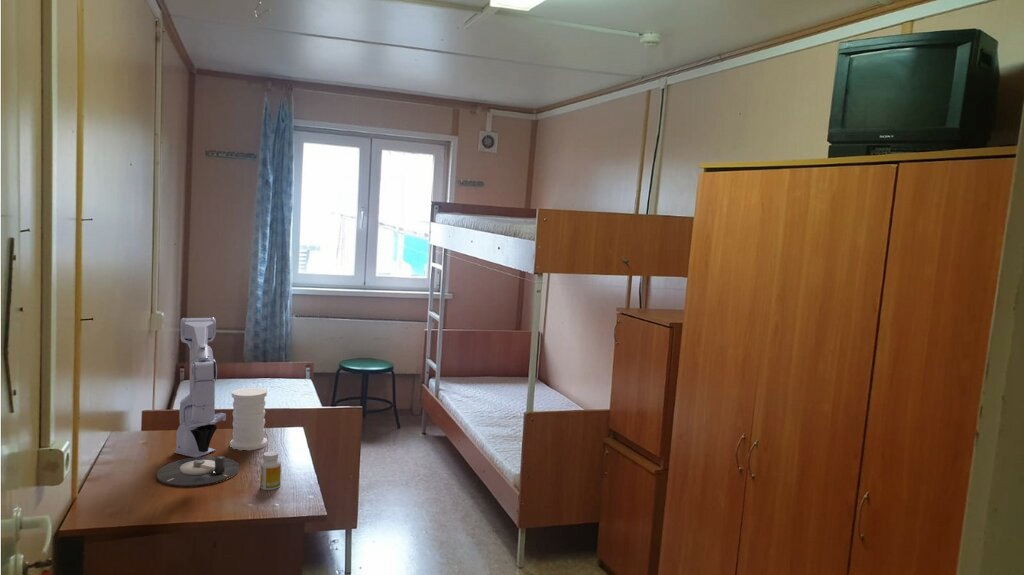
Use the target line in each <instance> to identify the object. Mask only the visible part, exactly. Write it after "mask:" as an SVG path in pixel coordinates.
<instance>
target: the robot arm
mask: <svg viewBox="0 0 1024 575" xmlns="http://www.w3.org/2000/svg"><path fill="white" fill-rule="evenodd" d="M179 324H180V329H179V331H180V333H179V334H180V340H181V343H184V344H187V346H188V348H189V393H188V395H186V396H185V397H183V398H182V399H181V400H180V402H179V426H178V428H177V430H176V435H175V436H176V438H175V439H176V443H175V444H176V446H175V447H176V448H175V449H176V450H173V453H174V454H179V455H182V456H187V457H189V458H194V457H203V456H205V455H207V454H211V453H213V452H215V451H216V449H215V448H212V447H210V444H211V441H212V438H213V436H214V434H215V432H216V430H217V428H218V427H217V425H216V424H217V423H219V422H221V421H222V422H225V421H226V419H227V414H226V413H224V412H219V413H215V408H216V407H215V403H216V402H215V398H216V397H215V395H216V394H215V392H216V391H215V390H216V389H215V388H216V387H215V386H216V385H215V383H216V382H217V378H218V367H217V361H216V359H215V358H214V353H213V349H212V347H211V346H209V345H208V343H212V342H213V341H214V339H215V337H216V336H217V334H216V333H217V321H216V318H215V317H214V316H213V317H190V318H189V317H182V318H181V319H180V323H179ZM214 450H215V451H214ZM212 451H213V452H212ZM210 452H211V453H210Z"/></svg>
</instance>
